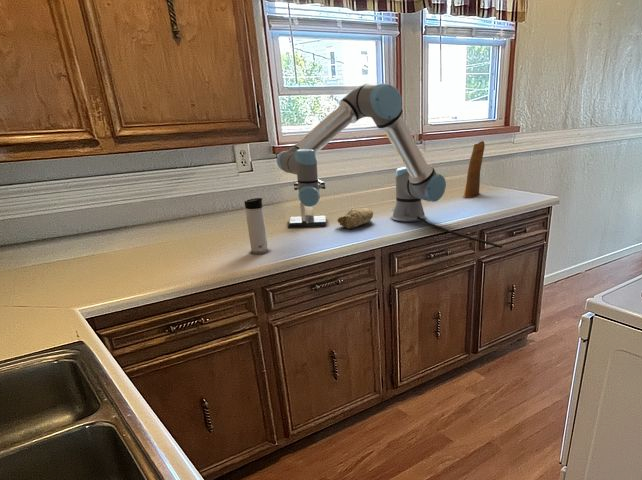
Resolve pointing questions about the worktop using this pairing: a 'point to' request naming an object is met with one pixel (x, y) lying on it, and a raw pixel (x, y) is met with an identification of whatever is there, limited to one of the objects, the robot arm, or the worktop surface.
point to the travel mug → (256, 226)
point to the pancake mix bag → (474, 171)
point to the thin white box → (306, 212)
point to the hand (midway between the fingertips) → (310, 179)
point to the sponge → (355, 217)
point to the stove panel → (308, 222)
